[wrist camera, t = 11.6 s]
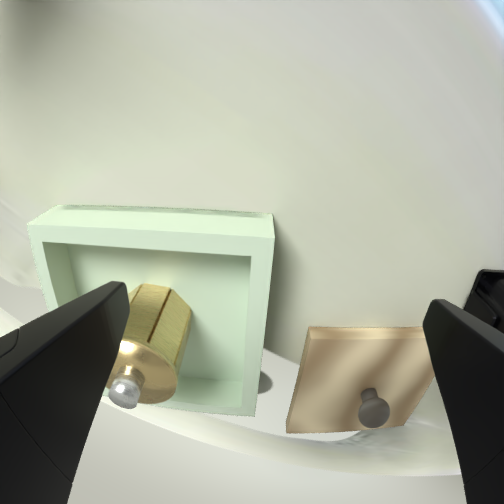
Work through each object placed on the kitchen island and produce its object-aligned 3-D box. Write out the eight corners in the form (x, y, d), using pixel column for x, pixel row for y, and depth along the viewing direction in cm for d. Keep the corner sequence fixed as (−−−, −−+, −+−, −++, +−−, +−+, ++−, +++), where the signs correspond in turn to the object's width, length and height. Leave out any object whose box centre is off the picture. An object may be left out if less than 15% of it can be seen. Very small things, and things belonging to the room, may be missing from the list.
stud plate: (449, 325, 25) (474, 365, 20) (400, 415, 31) (411, 452, 26) (308, 326, 25) (317, 376, 20) (285, 422, 31) (287, 464, 26)
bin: (272, 213, 21) (274, 238, 17) (255, 382, 28) (254, 416, 25) (56, 205, 21) (26, 224, 17) (93, 361, 28) (79, 389, 24)
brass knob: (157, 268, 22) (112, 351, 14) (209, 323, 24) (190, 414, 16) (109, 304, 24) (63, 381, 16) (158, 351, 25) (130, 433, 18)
